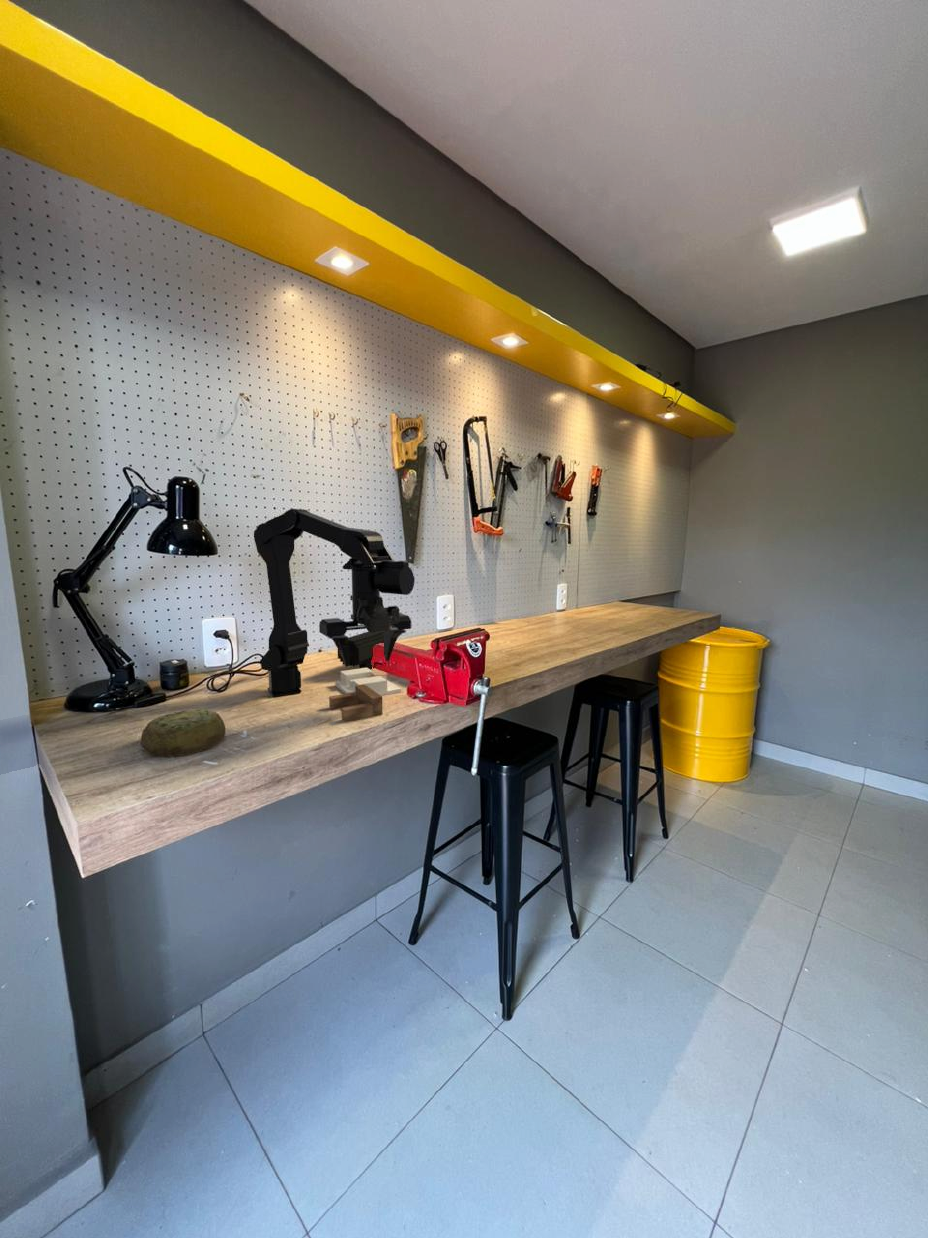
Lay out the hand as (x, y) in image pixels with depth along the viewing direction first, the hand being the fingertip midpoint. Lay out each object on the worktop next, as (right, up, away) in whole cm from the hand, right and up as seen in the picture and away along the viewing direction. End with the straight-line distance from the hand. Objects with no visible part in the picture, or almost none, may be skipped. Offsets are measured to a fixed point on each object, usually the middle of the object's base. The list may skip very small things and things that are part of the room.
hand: (367, 663), depth 106 cm
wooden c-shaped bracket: (-3, -10, 0) cm, 11 cm away
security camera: (-6, -5, +32) cm, 33 cm away
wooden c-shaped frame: (-3, -8, +15) cm, 17 cm away
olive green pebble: (-30, -13, -16) cm, 37 cm away
